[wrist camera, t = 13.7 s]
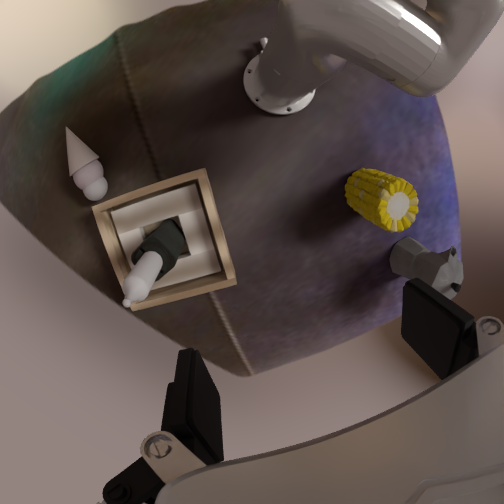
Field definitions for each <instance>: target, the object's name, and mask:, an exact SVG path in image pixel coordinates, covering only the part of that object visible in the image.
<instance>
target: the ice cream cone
mask: <svg viewBox="0 0 504 504" xmlns="http://www.w3.org/2000/svg"><path fill="white" fill-rule="evenodd" d="M66 141H67V154H68V164H69V173H70V176H72V175H73V179H74V182H75V184H76V185H77V186H78V187H79V188H80V189H83V193H84V195H85V196H86V198H88V199H89V200H92V201H97V200H100V199H102V198H103V197H104V196H105V194H106V192H107V189H108V184H107V181H106V179H105V178H104V177H103V167H102V165H101V163H100V162H99V161H98V160H97V159H99V158H100V157H99V156H97V155H96V154H95V153H94V152H93V151H92V150H91V149H90V148H89V147H88V146H87V145H86V144H84V143H83V142H82V141H81V140H80V139H79V138H78V137H77V136H76V135H75V134H74V133H73V132H72V131H71V130H69V129H68V128H67V127H66Z"/></svg>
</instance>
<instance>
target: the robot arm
mask: <svg viewBox="0 0 504 504" xmlns="http://www.w3.org/2000/svg"><path fill="white" fill-rule="evenodd" d="M503 11H504V0H427V6H426V9H425V10H423V9H422V8H420V7H419V6H418V5H416V4H415V3H413V2H412V1H411V0H279V7H278V15H277V19H276V22H275V25H274V27H273V30H272V32H271V34H270V37H269V39H267V38H262V39H260V43H261V46H262V48H263V50H262V51H261V53H260V54H259V55H257V56H256V57H254V58H253V59H252V60H251V61H250V62H249V63H248V65H247V67H246V69H245V72H244V77H243V84H244V88H245V92H246V94H247V96H248V97H249V99H250V100H251V101H252V102H253V103H254V104H255V105H256V106H257V107H259V108H260V109H262V110H263V111H266V112H268V113H271V114H276V115H289V114H293V113H296V112H298V111H300V110H302V109H303V108H305V107H306V106H307V105H308V104H309V103H310V102H311V100H312V99H313V97H314V94H315V89H316V88H317V87H319V86H320V85H322V84H323V83H325V82H326V81H328V80H329V79H330V78H332V77H333V76H334V75H336V74H337V73H338V72H339V71H340V70H341V69H342V68H343V66H344V65H345V63H346V60H348V61H350V62H352V63H354V64H355V65H358V66H361V67H363V68H365V69H366V70H368V71H370V72H372V73H374V74H375V75H377V76H379V77H381V78H382V79H384V80H386V81H387V82H389V83H391V84H392V85H394V86H396V87H397V88H399V89H401V90H402V91H404V92H406V93H408V94H410V95H413V96H416V97H429V96H432V95H435V94H437V93H439V92H440V91H442V90H443V89H444V88H445V87H446V86H447V85H449V84H450V83H451V82H452V80H453V79H454V78H455V77H456V76H457V75H458V73H459V72H460V71H461V70H462V68H463V67H464V66H465V65H466V63H467V62H468V61H469V59H470V58H471V57H472V55H473V54H474V53H475V51H476V50H477V49H478V48H479V46H480V45H481V44H482V42H483V41H484V40H485V38H486V37H487V35H488V34H489V33H490V31H491V30H492V29H493V27H494V26H495V25H496V23H497V22H498V20H499V18H500V17H501V15H502V13H503ZM248 72H250V73H248ZM256 99H258V100H259V101H258V102H257V101H256ZM287 109H289V111H287ZM401 326H402V327H401V335H402V337H403V339H404V340H405V341H406V342H407V343H408V344H409V345H410V346H411V347H412V348H413V349H414V351H416V353H417V354H418V355H419V356H420V357H421V358H422V359H423V360H424V361H425V362H426V363H427V365H428V366H429V367H430V368H431V369H432V370H433V371H434V372H435V373H436V374H437V376H439V378H440V379H441V380H442V381H440V382H439V383H437V384H435V385H434V386H432V387H430V388H429V389H427V390H425V391H423V392H421V393H420V394H418V395H416V396H414V397H412V398H411V399H409V400H407V401H405V402H403V403H401V404H399V405H397V406H395V407H393V408H391V409H389V410H387V411H384V412H383V413H380V414H378V415H376V416H374V417H371V418H369V419H367V420H364V421H362V422H360V423H357V424H355V425H352V426H350V427H347V428H345V429H342V430H339V431H336V432H334V433H331V434H328V435H325V436H322V437H319V438H316V439H313V440H310V441H307V442H303V443H300V444H296V445H293V446H290V447H285V448H282V449H278V450H274V451H270V452H266V453H262V454H258V455H253V456H249V457H243V458H239V459H234V460H229V461H225V462H222V461H224V454H223V440H222V425H221V405H220V396H219V392H218V390H217V388H216V386H215V384H214V382H213V380H212V378H211V376H210V374H209V372H208V370H207V368H206V366H205V364H204V361H203V359H202V357H201V355H200V353H199V351H198V350H195V351H194V349H193V348H188V349H184V350H180V351H179V354H178V359H177V365H176V372H175V379H174V382H172V383H169V384H168V387H167V393H166V399H165V405H164V412H163V419H162V426H161V431H158V432H154V433H152V434H150V435H148V436H147V437H146V438H145V439H144V440H143V442H142V443H141V447H140V451H141V455H142V457H141V458H139V459H138V460H137V461H136V462H134V463H133V464H131V465H130V466H129V467H127V468H126V469H125V470H124V471H122V472H121V473H120V474H118V475H117V476H115V477H114V478H113V479H111V480H110V481H109V482H108V483H107V484H106V485H105V487H104V488H103V498H104V500H103V502H102V503H99V502H98V503H97V504H504V325H503V323H502V322H501V321H500V320H499V319H497V318H495V317H492V316H486V317H482V318H480V319H479V320H478V321H477V323H475V322H474V317H473V316H472V315H471V314H469V313H468V312H466V311H465V310H464V309H463V308H461V307H460V306H458V305H457V304H456V303H454V302H453V301H451V300H450V299H448V298H447V297H446V296H444V295H443V294H441V293H440V292H438V291H437V290H436V289H434V288H433V287H431V286H430V285H428V284H427V283H425V282H424V281H422V280H421V279H419V278H414V279H411V280H409V281H407V282H406V283H405V286H404V287H403V306H402V325H401Z"/></svg>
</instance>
